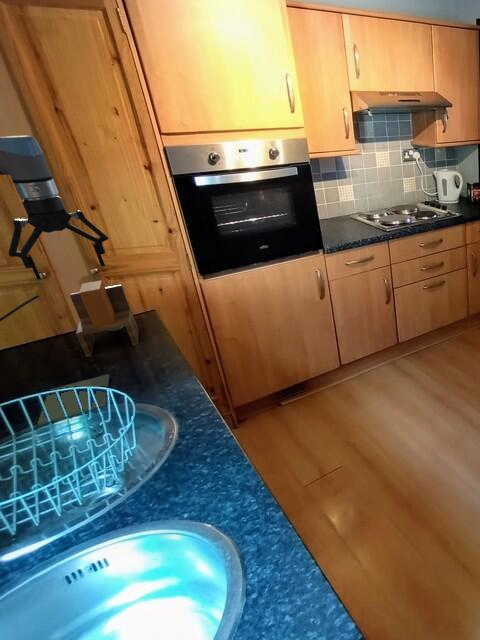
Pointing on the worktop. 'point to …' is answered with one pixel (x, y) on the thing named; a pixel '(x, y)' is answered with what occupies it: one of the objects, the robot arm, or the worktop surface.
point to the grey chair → (121, 319)
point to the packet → (97, 303)
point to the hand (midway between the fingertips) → (72, 271)
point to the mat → (74, 400)
